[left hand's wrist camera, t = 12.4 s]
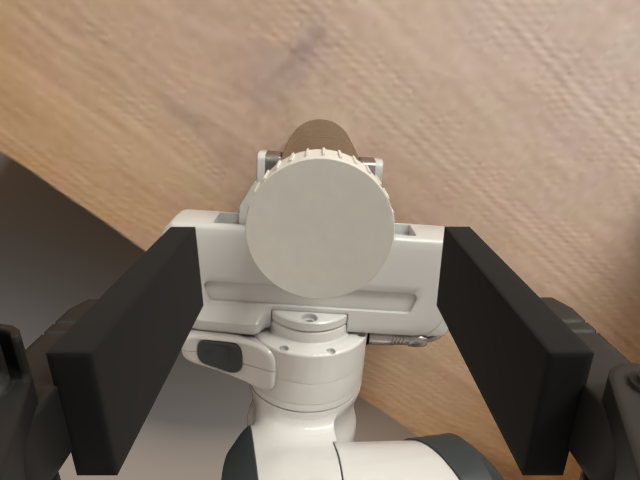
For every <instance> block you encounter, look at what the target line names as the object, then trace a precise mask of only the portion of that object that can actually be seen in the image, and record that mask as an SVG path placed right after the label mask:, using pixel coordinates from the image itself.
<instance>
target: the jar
mask: <svg viewBox="0 0 640 480" xmlns="http://www.w3.org/2000/svg"><path fill="white" fill-rule="evenodd" d="M308 148H309V150H314V149H322V148H325V149H327V150H333V151H338V150H341V153H344V154H347V155H349V156H351V157H352V156H355V158H356V160H358V161H360V159H359V157H358V155H357V153H356V151H355V149H354V147H353V145H352V143H351V141H350V139H349V137H348V135H347V134H346V132H345V131H344V130H343V129H342V128H341V127H340V126H339V125H337V124H335V123H333V122H331V121H328V120H312V121H309V122H306V123H304V124H303V125H301V126H300V127H298V128H297V129H296V130H295V132H294V133H293V134H292V136H291V138H290V140H289V142H288V144H287V146H286V148H285V150H284V153H283V155H282V157H281V159H280V160H281V161H282V160H283V159H285V158H287V157H289V156H291V153H293V152H294V154H296V153H299V152H302V151H306V149H308Z"/></svg>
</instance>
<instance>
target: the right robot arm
mask: <svg viewBox="0 0 640 480" xmlns="http://www.w3.org/2000/svg"><path fill="white" fill-rule="evenodd" d="M281 157H282V152H279V151H267V150H260V151H259V152H258V157H257V179H256V180H255V182H254V184H253V185H252V187H251V188H250V190H249V192H248V193H247V195H246V196H245V198H244V200H243V201H242V203H241V205H240V206H239V213H237V212H221V211H206V210H191V209H186V210H183V211H181V212H180V213H179V214H177V215H176V216H175V217H174V218H173V219H172V220H171V221H170V222H169V223H168V224H167V225H166V227H165V228H164V230H163V232H162V234H161V236H162V235H163V234H164V233H165V232H166V231H167V230H168V229H169V228H170V227H195V228H196V238H197V247H198V257H199V267H200V276H201V286H202V295H203V305H204V306H203V307H202V309H201V311H200V313H199V315H198V317H197V319H196V321H195V323H194V325H193V327H192V329H191V331H190V333H189V335H188V337H187V339H186V341H185V343H184V345H183V347H182V354H183V356H184V357H185V358H186V359H187V360H189V361H191V362H193V363H196V364H199V365H202V366H205V367H208V368H211V369H214V370H217V371H220V372H223V373H226V374H228V375H231V376H233V377H236V378H238V379H241V380H243V381H245V382H247V383H249V386H250V389H251V392H252V396H253V400H252V403H251V405H250V408H249V412H248V417H247V428H246V429H245V430H244V431H243V432H242V433H241V434H240V436H239V437H238V439H237V440H236V441H235V443H234V444H233V446H232V447H231V449H230V450H229V452H228V453H227V455H226V458H225V462H224V466H223V472H222V479H221V480H504V479H503V477H502V475H501V474H500V473H499V471H498V470H497V469H496V468H495V467H494V465H493V464H492V463H491V462H490V461H489V460H488V459H487V458H486V457H485V456H484V455H483V454H481V453H480V452H479V451H478V450H477V449H476V448H474V447H473V446H472V445H471V444H469V443H468V442H466V441H465V440H464V439H462V438H461V437H459V436H457V435H455V434H450V433H447V434H439V435H432V436H424V437H416V438H408V439H405V440H403V441H370V442H354V438H355V431H356V415H355V410H354V402H355V400H356V398H357V396H358V394H359V391H360V388H361V383H362V375H363V367H364V359H365V351H366V345H367V344H373V345H398V344H399V345H408V346H411V347H423V346H426V344H427V342H432V341H434V340H437V339H439V338H440V337H441V336H444V335H445V334H446V332H447V330H448V327H447V325H446V323H445V321H444V319H443V317H442V315H441V313H440V311H439V309H438V307H437V306H436V305H437V295H438V286H439V276H440V267H441V257H442V247H443V238H444V228H445V227H444V226H434V225H419V224H404V223H395V234H394V241H393V245H392V249H391V252H390V254H389V257H388V259H387V261H386V262H385V264H384V266H383V267H382V268H381V270H380V271H379V272H378V274H377V275H376V276H375V277H374V278H373V279H372V280H370V281H369V282H368V283H367V284H366V285H364V286H362V287H361V288H359V289H358V290H356V291H354V292H351V293H349V294H346V295H343V296H340V297H336V298H330V299H310V298H304V297H300V296H296V295H293V294H291V293H288V292H286V291H284V290H282V289H281V288H279V287H277V286H276V285H275V284H273V283H272V282H271V281H270V280H268V279H267V278H266V277H265V276H264V275H263V274H262V272H261V271H260V270H259V269H258V267H257V266H256V264H255V262H254V261H253V259H252V257H251V254H250V252H249V249H248V246H247V241H246V235H245V219H246V215H247V211H248V207H247V206H248V204H249V202H250V200H251V198H252V197H253V195H254V194H255V193H253V192H254V190H255V188H256V186H257V185H258V183H259V182H262V180H263V177H264V175H265V173H266V172H267V170H269V171H270V170H271V169H272V168H273V167H274V166H275V165H276V164H277V162H278V161H279V160H280V159H281ZM359 159H360V162H361V163H362V164H363V165H365V164H366V165H368V167H369V169H370V171H371V172H372V173H373V174H374V176H375V175H377V177H378V178H379V180H380V182H382V173H383V161H382V159H381V158H367V157H359ZM393 216H394V215H393ZM427 336H428V337H427Z"/></svg>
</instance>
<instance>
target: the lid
mask: <svg viewBox="0 0 640 480" xmlns="http://www.w3.org/2000/svg"><path fill="white" fill-rule="evenodd" d="M381 186H382V183H381V182H380V180H379V178H378V177H377V175H375V176H374V174H373V173H372V172H371V171H370V169H369V167H368V165H366V164H365V165H363V164H362V163H361V162H360V161H358V160H356V158H355V156H352V157H351V156H349V155H347V154H344V153H341V150H338V151H333V150H327V149H325V148H322V149H314V150H309V148H308V149H306V151H302V152H299V153H296V154H294V152H293V153H291V156H289V157H287V158H285V159H283V160H282V161H281V160H279V161H278V162H277V164H276V165H275V166H274V167H273V168H272V169H271V170H270V171H269V170H267V172H266V173H265V175H264V177H263V180H262V182H259V183H258V185H257V186H256V188H255V190H254V192H253V193H255V194H254V195H253V197H252V198H251V200H250V202H249V204H248V206H247V207H248V211H247V215H246V219H245V235H246V241H247V246H248V249H249V252H250V254H251V257H252V259H253V261H254V262H255V264H256V266H257V267H258V269H259V270H260V271H261V272H262V274H263V275H264V276H265V277H266V278H267V279H268V280H270V281H271V282H272V283H273V284H275V285H276V286H277V287H279V288H281V289H282V290H284V291H286V292H288V293H291V294H293V295H296V296H300V297H304V298H310V299H330V298H336V297H340V296H343V295H346V294H349V293H351V292H354V291H356V290H358V289H359V288H361V287H362V286H364V285H366V284H367V283H368V282H369V281H370V280H372V279H373V278H374V277H375V276H376V275H377V274H378V272H379V271H380V270H381V268H382V267H383V266H384V264H385V262H386V261H387V259H388V257H389V254H390V252H391V249H392V245H393V241H394V234H395V222H394V216H393V215H394V211H393V209H392V208H391V205H390V202H389V200H390V198H389V196H388V194H387V192H386V191H385V189H384V188H382V187H381Z"/></svg>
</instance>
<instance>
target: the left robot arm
mask: <svg viewBox="0 0 640 480" xmlns="http://www.w3.org/2000/svg"><path fill="white" fill-rule="evenodd" d="M203 306H204V305H203V295H202V286H201V276H200V267H199V257H198V247H197V238H196V228H195V227H170V228H169V229H168V230H167V231H166V232H165V233H164V234H163V235H162V236H161V237H160V238H159V239H158V240H157V241H156V242H155V243H154V244H153V245H152V246H151V247H150V248H149V249H148V250H147V251H146V252H145V253H144V254H143V255H142V256H141V257H140V258H139V259H138V260H137V261H136V262H135V263H134V264H133V265H132V266H131V267H130V268H129V269H128V270H127V271H126V272H125V273H124V274H123V275H122V277H120V278H119V279H118V280H117V282H116V283H114V284H113V285H112V287H111V288H110V289H109V290H108V291H107V292H106V293H105V294H104V295H103V296H102V297H101V298H100V299H88V300H86V301H84V302H82V303H80V304H78V305H77V306H75V307H73V308H71V309H69V310H68V311H67V312H66V313H65V314H64V315H63V316H61V317H60V318H59V319H58V320H57V321H56V324H53V325H52V326H51V327H50V328H48V329H47V330H46V331H45V334H44V335H41V336H40V337H39V338H38V339H37V340H36V341H35V342H33V343H32V344H31V345H30V346H29V347H28V348H27V349H26V350H25V348H24V345H23V341H22V338H21V334H20V330H19V329H17V328H16V327H14V326H12V325H4V324H0V480H61V479H60V475H59V472H58V471H59V469H60V468H61V466H62V465H63V463H64V462H65V460H66V459H67V457H68V456H69V454H70V453H72V457H73V461H74V465H75V469H76V473H77V475H118V473H119V471H120V469H121V467H122V465H123V463H124V461H125V459H126V457H127V455H128V453H129V451H130V449H131V447H132V445H133V443H134V441H135V439H136V437H137V435H138V433H139V431H140V429H141V427H142V426H143V424H144V422H145V420H146V418H147V416H148V414H149V412H150V410H151V408H152V406H153V404H154V402H155V400H156V398H157V396H158V394H159V392H160V390H161V388H162V386H163V384H164V382H165V380H166V378H167V376H168V374H169V372H170V370H171V368H172V367H173V365H174V363H175V361H176V359H177V357H178V355H179V353H180V351H181V349H182V347H183V345H184V343H185V341H186V339H187V337H188V335H189V333H190V331H191V329H192V327H193V325H194V323H195V321H196V319H197V317H198V315H199V313H200V311H201V309H202V307H203ZM436 306H437V307H438V309H439V311H440V313H441V315H442V317H443V319H444V321H445V323H446V325H447V327H448V329H449V331H450V333H451V335H452V337H453V339H454V341H455V343H456V345H457V347H458V349H459V351H460V353H461V355H462V357H463V359H464V361H465V363H466V365H467V367H468V368H469V370H470V372H471V374H472V376H473V378H474V380H475V382H476V384H477V386H478V388H479V390H480V392H481V394H482V396H483V398H484V400H485V402H486V404H487V406H488V408H489V410H490V412H491V414H492V416H493V418H494V420H495V422H496V424H497V426H498V428H499V429H500V431H501V433H502V435H503V437H504V439H505V441H506V443H507V445H508V447H509V449H510V451H511V453H512V455H513V457H514V459H515V461H516V463H517V465H518V467H519V469H520V471H521V473H522V475H563V473H564V469H565V465H566V461H567V457H568V453H569V450H570V452H571V453H572V455H573V456H574V458H575V459H576V461H577V462H578V464H579V465H580V467H581V468H582V472H581V475H580V479H579V480H640V364H634V363H631V362H630V361H628V360H627V359H626V358H625V357H624V356H623V355H622V354H621V353H620V352H619V351H618V350H617V349H615V348H614V347H613V346H612V345H611V344H610V343H609V342H608V341H607V340H606V339H605V338H603V337H602V336H601V335H600V334H599V333H596V330H595V329H594V328H593V327H592V326H590V325H589V324H588V323H585V320H584V319H583V318H582V317H581V316H580V315H579V314H577V313H576V312H575V311H574V310H573V309H572V308H570V307H569V306H567V305H565V304H563V303H561V302H559V301H557V300H555V299H553V298H539V297H538V296H537V295H536V294H535V293H534V292H533V291H532V290H531V289H530V287H529V286H528V285H527V284H526V283H525V282H524V281H523V280H522V279H521V278H520V277H519V276H518V275H517V274H516V273H515V272H514V271H513V270H512V269H511V268H510V267H509V266H508V265H507V264H506V263H505V262H504V261H503V260H502V259H501V258H500V257H499V256H498V255H497V254H496V253H495V252H494V251H493V250H492V249H491V248H490V247H489V246H488V245H487V244H486V243H485V242H484V241H483V240H482V239H481V238H480V237H479V236H478V235H477V234H476V233H475V232H474V231H473V230H472V229H471V228H470V227H445V228H444V238H443V247H442V257H441V267H440V276H439V286H438V295H437V305H436Z"/></svg>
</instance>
